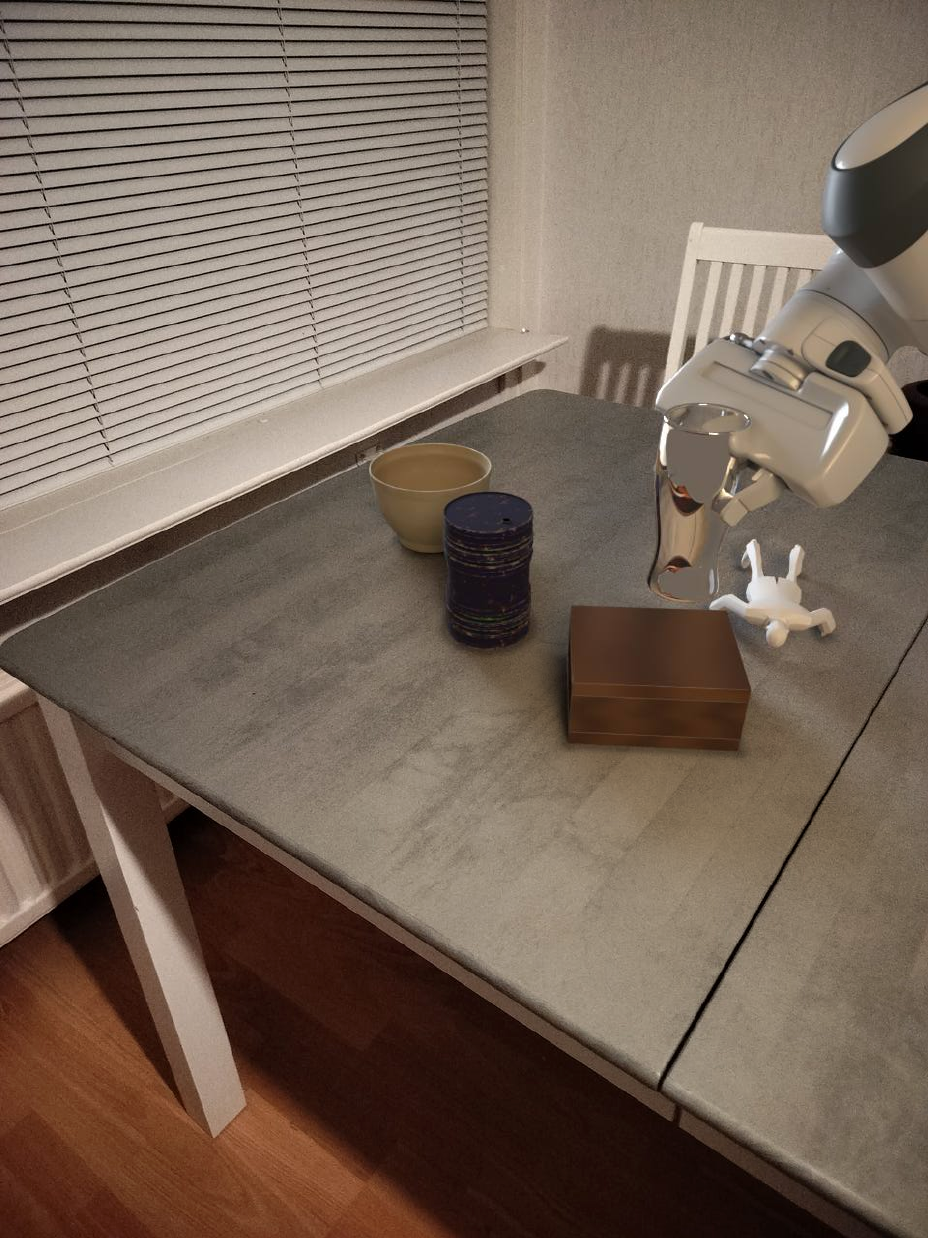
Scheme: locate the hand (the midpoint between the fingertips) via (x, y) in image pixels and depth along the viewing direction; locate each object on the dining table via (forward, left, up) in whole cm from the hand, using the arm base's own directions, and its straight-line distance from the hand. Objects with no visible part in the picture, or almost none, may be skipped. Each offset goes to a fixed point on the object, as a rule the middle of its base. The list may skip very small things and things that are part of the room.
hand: (689, 498), depth 66 cm
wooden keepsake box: (0, -5, -25) cm, 26 cm away
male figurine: (-15, -20, -26) cm, 36 cm away
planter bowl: (+26, -39, -26) cm, 53 cm away
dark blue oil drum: (+17, -18, -26) cm, 36 cm away
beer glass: (0, 0, -8) cm, 9 cm away
